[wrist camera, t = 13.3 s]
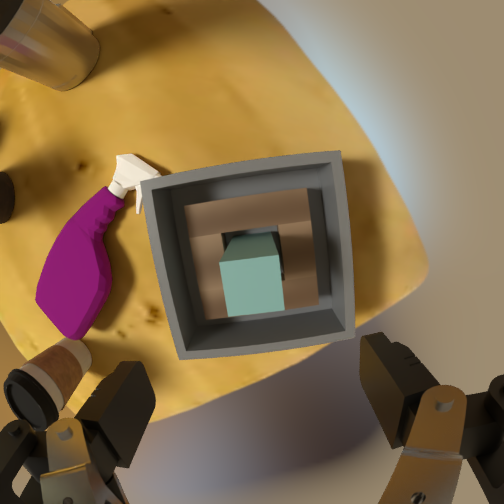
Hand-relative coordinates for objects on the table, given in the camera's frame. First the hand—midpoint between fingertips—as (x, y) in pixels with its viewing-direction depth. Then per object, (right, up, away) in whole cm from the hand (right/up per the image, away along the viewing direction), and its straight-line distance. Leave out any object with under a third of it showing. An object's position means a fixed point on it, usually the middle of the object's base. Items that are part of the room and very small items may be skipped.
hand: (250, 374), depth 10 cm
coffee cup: (-27, -11, +27) cm, 39 cm away
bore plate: (0, +5, +23) cm, 23 cm away
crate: (0, +5, +23) cm, 23 cm away
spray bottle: (-19, +5, +23) cm, 31 cm away
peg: (0, +4, +22) cm, 22 cm away
